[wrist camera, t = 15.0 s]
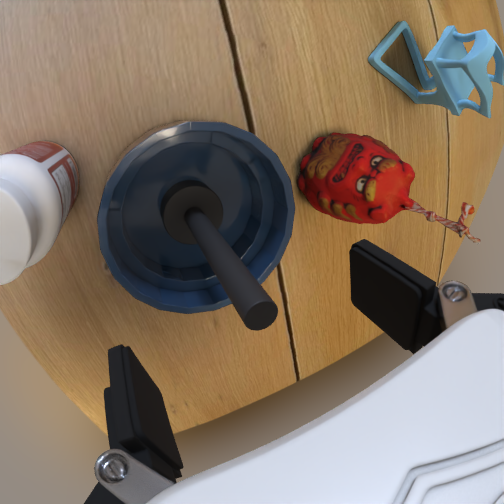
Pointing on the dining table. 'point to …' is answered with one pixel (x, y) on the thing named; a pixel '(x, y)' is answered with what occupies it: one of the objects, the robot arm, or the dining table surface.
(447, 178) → the dining table surface
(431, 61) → the chair
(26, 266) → the pill bottle
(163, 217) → the black disc-end rod
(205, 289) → the bowl
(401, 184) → the red clay folk toy
